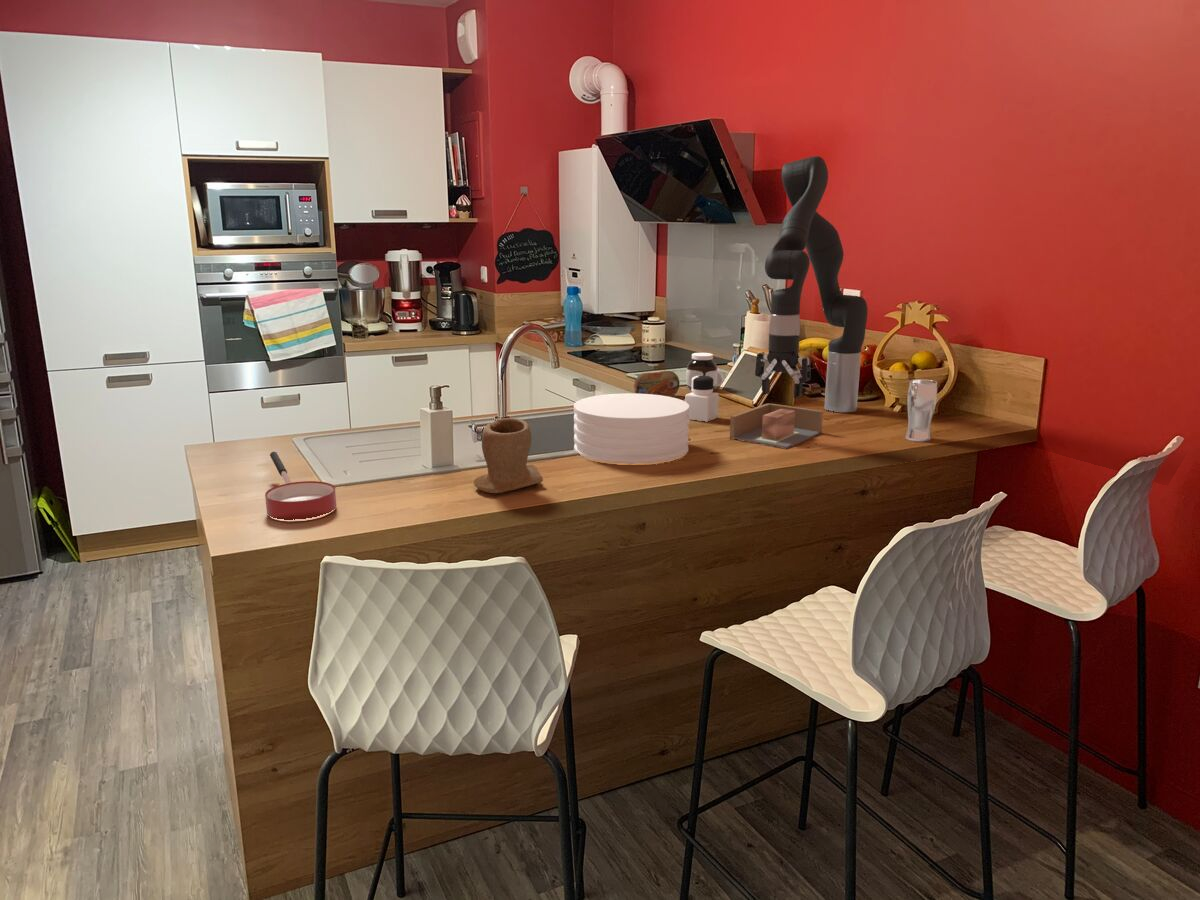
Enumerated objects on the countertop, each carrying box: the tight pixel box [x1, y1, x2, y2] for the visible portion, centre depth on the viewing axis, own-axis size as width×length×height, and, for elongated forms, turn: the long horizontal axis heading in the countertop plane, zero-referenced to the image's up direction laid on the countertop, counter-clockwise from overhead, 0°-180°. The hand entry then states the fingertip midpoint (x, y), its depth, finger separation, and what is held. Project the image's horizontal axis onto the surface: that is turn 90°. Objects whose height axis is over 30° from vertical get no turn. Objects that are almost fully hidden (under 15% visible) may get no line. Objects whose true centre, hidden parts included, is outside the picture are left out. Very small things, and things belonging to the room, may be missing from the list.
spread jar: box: [685, 352, 724, 390], centre depth 293 cm, size 12×11×12 cm
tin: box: [633, 370, 680, 397], centre depth 279 cm, size 15×3×8 cm, turn 115°
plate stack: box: [573, 392, 690, 464], centre depth 219 cm, size 28×28×12 cm
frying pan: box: [264, 451, 337, 520], centre depth 183 cm, size 32×13×6 cm, turn 36°
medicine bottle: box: [684, 376, 720, 423], centre depth 252 cm, size 7×7×12 cm
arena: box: [729, 402, 824, 449], centre depth 233 cm, size 20×16×6 cm
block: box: [762, 409, 795, 441], centre depth 230 cm, size 4×10×6 cm, turn 142°
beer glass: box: [905, 378, 938, 443], centre depth 229 cm, size 7×7×15 cm
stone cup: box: [473, 417, 544, 494], centre depth 189 cm, size 15×12×15 cm
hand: (781, 395), depth 228 cm, fingers open, 8 cm apart
